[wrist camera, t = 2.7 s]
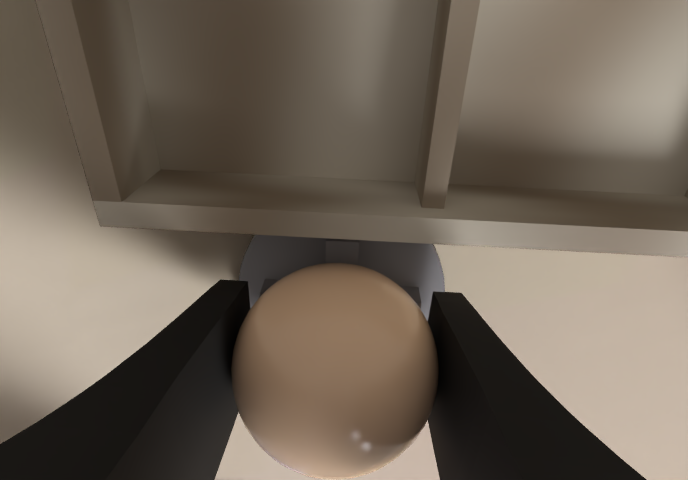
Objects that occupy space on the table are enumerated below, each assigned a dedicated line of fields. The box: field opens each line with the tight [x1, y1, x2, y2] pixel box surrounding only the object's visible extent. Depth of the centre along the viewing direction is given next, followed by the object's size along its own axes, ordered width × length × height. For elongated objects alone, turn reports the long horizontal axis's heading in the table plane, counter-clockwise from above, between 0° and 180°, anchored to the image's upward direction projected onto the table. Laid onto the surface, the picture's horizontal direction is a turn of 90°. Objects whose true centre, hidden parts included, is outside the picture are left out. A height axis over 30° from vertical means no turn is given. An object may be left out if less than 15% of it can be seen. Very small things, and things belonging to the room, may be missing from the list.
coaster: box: [239, 235, 445, 321], centre depth 10 cm, size 5×5×1 cm
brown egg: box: [231, 263, 439, 480], centre depth 8 cm, size 4×4×4 cm
